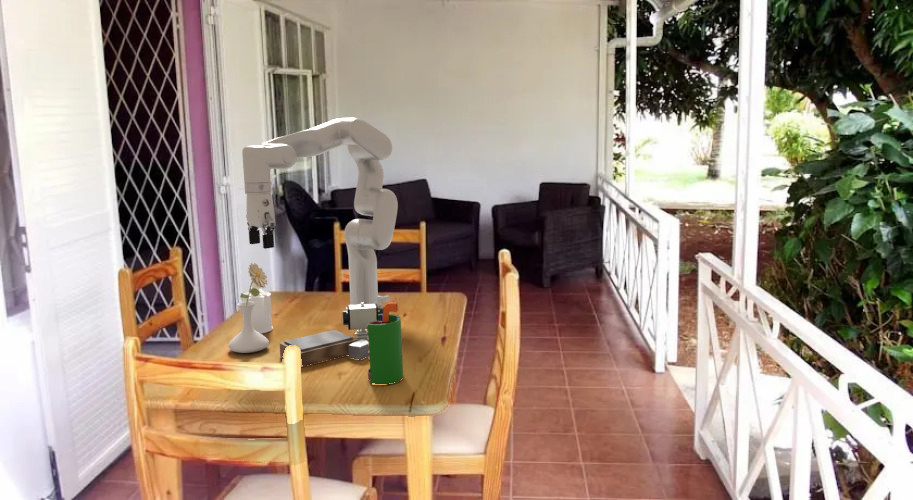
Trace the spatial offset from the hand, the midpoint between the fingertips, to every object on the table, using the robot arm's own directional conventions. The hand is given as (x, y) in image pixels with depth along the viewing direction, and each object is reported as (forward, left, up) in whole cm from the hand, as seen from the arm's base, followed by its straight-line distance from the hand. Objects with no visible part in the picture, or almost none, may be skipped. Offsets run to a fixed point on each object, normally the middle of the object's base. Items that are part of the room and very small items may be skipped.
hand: (261, 245), depth 217 cm
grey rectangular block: (-11, +34, -29) cm, 46 cm away
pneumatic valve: (-19, +23, -29) cm, 42 cm away
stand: (-3, +25, -28) cm, 38 cm away
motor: (-6, +53, -29) cm, 61 cm away
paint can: (-1, -9, -29) cm, 30 cm away
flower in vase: (+9, +7, -29) cm, 31 cm away
